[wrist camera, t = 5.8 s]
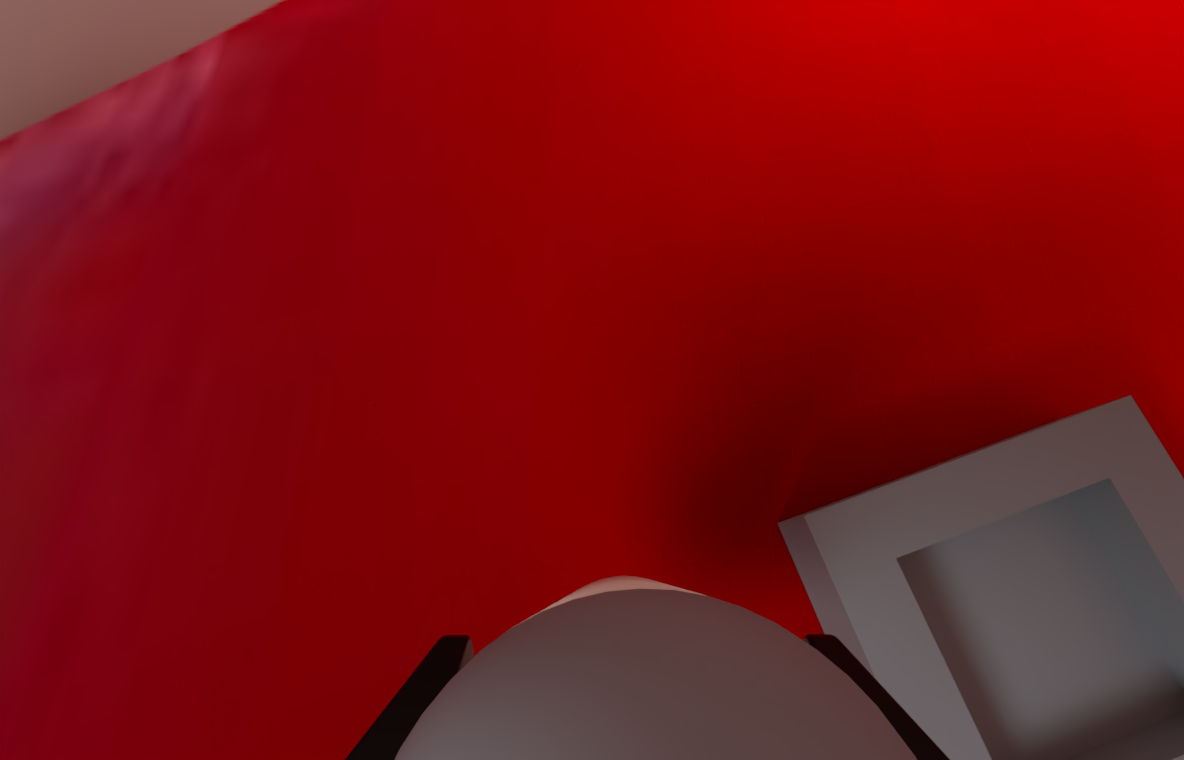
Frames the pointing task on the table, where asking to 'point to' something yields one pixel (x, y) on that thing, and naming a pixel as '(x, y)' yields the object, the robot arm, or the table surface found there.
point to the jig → (1018, 591)
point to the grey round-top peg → (650, 688)
